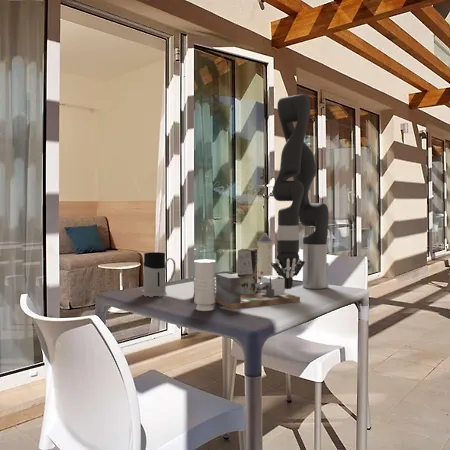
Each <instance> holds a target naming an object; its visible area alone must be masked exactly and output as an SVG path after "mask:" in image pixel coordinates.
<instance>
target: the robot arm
mask: <svg viewBox="0 0 450 450" xmlns="http://www.w3.org/2000/svg"><path fill="white" fill-rule="evenodd" d="M276 109H277V115H278V119H279V123H280V125H281V130H282V133H283V136H284V139H285V144H284V146H283V147H282V150H281V154H280V156H281V157H280V167H279V171H278V175H277V177H276V179H275V181H274V184H273V187H272V196H273V199H275V201H277V202H292V203H291V204H290V206H287V207H283V208H280V209H279V210H278V212H277V213H278V214H277V233H276V235H277V236H276V238H277V241H276V251H277V256H276V260H274V261H272V263H271V265H272V269H274V271H275V272H276V274H277V275H278V277H282V278H285V289H287V290H290V289H292V287H293V284H294V283H293V278H294V277H297V276H298V274H299V273H300V271H301V270H302V288H306V289H311V290H312V289H313V290H315V289H316V290H318V289H319V290H320V289H326V288H329V280H330V279H329V274H330V273H329V272H330V271H329V270H330V269H329V262H328V261H327V259H328V258H327V256H328V255H327V254H328V253H327V250H328V249H327V246H328V245H327V243H328V242H327V241H328V236H329V217H330V211H329V207H328V205H327V204H325V203H324V202H313V203H312V202H311V203H310V199H309V192H310V187H311V185H312V183H313V181H314V179H315V176H316V174H317V166H316V162H315V155H314V153H313V151H312V150H311V148H310V147H309V146H308V145H307V143H306V142H305V138H306V133H307V130H308V125H309V121H310V120H309V119H310V115H311V102H310V99H309V97H308V96H307V95H306V94H304V93H303V94H295V95H290V96H284V97H281V98H279V99H278V101H277V108H276ZM294 123H296V124H295V126H294ZM290 178H292V180H289V179H290ZM299 223H300V225H302V226H304V227H315V229H314V231H313V232H311V233H310V234H307V235H305V236H303V238H302V259H301V258H300V255H299V252H300V229H299V228H300V227H299V226H300V225H299Z"/></svg>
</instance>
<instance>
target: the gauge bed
mask: <svg viewBox="0 0 450 450" xmlns="http://www.w3.org/2000/svg"><path fill="white" fill-rule="evenodd" d="M215 278H216V280H215V282H216V284H215V286H216V288H215V289H216V292H215V300H216V302H215V303H217V304H219V305H221V306H223V307H226V308H227V309H229V310H233V309H242V308H243V309H244V308H252V307H253V308H254V307H260V306H271V305H278V304H279V305H280V304H288V303H297V302H301V296H297V295H295V294H291V293H288V292H285V295H277V296H274V297H269V296H266V294H264V293H261V292H256V293H255V294H241V277H238V275H235V274H231V273H224V272H223V273H215Z"/></svg>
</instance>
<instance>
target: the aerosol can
mask: <svg viewBox="0 0 450 450" xmlns="http://www.w3.org/2000/svg"><path fill="white" fill-rule="evenodd" d="M273 243H274V242H273V239H271V238H270V236H269V235H268V233H266V232H265V233H264V232H263V233H262V235H261V237H259V239H257V248H256V249H257V277H259V278H258V279H261V276H273V267H272V265H271V263H272V262H274V261H273V260H274V259H273V256H274V255H273V253H274V252H273V249H274V248H273Z"/></svg>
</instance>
